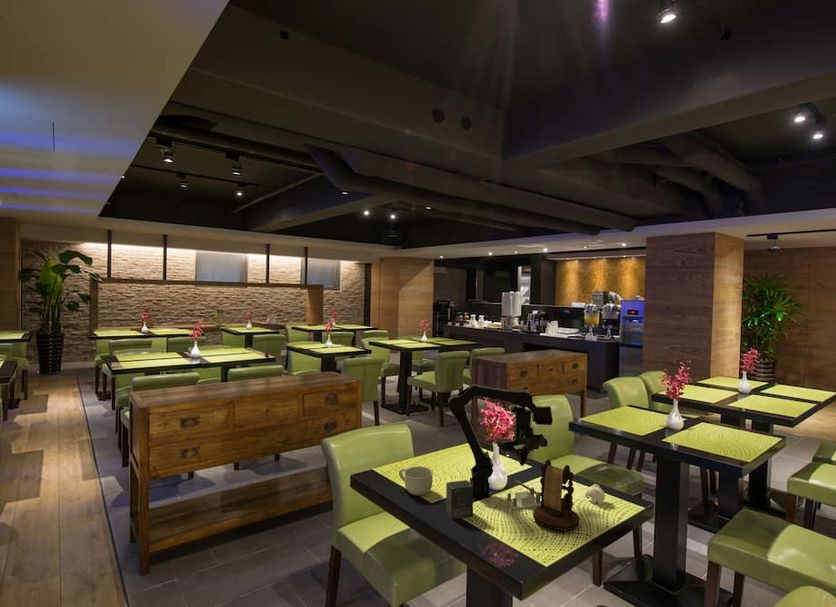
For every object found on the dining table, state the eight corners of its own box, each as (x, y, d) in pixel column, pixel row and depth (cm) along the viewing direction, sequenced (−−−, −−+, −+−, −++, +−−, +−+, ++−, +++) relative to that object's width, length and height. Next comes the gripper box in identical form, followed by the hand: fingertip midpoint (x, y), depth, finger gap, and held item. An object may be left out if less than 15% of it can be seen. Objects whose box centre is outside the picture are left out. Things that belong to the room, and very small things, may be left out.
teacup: (438, 492, 171) (438, 471, 171) (419, 501, 163) (419, 479, 163) (411, 481, 180) (411, 462, 180) (392, 490, 172) (392, 469, 172)
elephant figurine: (586, 496, 169) (586, 480, 169) (608, 501, 165) (609, 485, 165) (582, 503, 163) (582, 487, 163) (606, 508, 159) (606, 492, 159)
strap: (517, 484, 160) (519, 481, 160) (513, 481, 163) (515, 478, 163) (537, 495, 162) (538, 493, 163) (533, 492, 165) (534, 490, 165)
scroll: (524, 522, 148) (525, 462, 148) (545, 508, 159) (546, 451, 159) (567, 539, 138) (568, 474, 138) (586, 522, 149) (587, 462, 149)
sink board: (514, 509, 157) (514, 497, 157) (504, 501, 164) (504, 489, 164) (543, 505, 161) (544, 493, 161) (533, 497, 168) (533, 486, 168)
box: (466, 509, 157) (466, 479, 157) (473, 517, 152) (473, 485, 152) (445, 512, 155) (446, 481, 155) (451, 520, 149) (452, 488, 149)
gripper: (512, 432, 156) (511, 476, 157) (557, 428, 163) (556, 470, 163) (496, 423, 167) (495, 465, 167) (539, 420, 173) (538, 460, 173)
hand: (521, 465), depth 167 cm, fingers closed
